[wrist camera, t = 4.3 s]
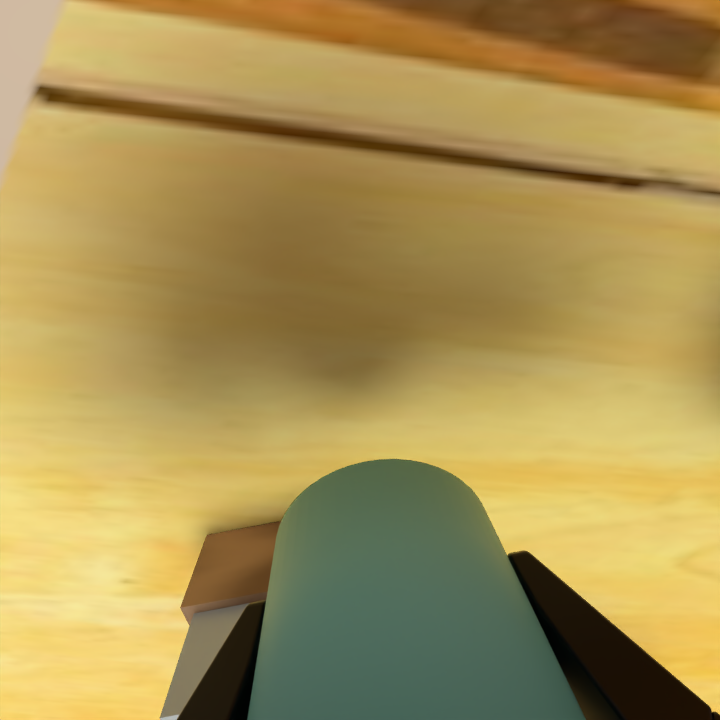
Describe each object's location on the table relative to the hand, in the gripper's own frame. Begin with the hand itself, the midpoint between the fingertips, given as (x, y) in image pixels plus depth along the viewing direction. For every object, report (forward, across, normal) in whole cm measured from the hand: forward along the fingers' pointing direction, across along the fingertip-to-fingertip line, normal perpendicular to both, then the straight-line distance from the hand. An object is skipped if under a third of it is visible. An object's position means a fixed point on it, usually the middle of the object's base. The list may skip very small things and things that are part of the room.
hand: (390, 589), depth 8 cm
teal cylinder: (+1, 0, 0) cm, 1 cm away
